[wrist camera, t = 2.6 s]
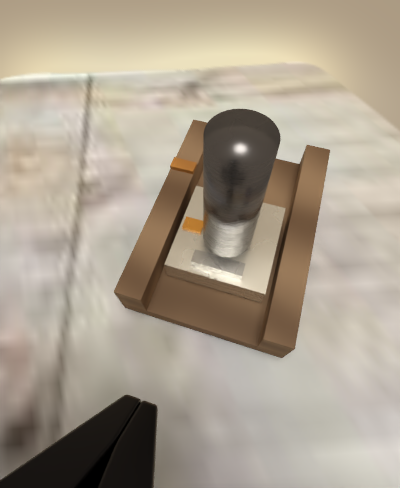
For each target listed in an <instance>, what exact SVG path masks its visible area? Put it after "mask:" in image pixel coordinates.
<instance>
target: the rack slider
mask: <svg viewBox="0 0 400 488" xmlns="http://www.w3.org/2000/svg"><path fill="white" fill-rule="evenodd" d="M279 144H280V133H279V130H278V128H277V126H276V125H275V123H274V122H273V121H272V120H271V119H269V118H268V117H267V116H265V115H263V114H261V113H259V112H256V111H253V110H248V109H232V110H227V111H224V112H221V113H219V114H217V115H216V116H214V117H213V118H212V119H211V120H210V121H209V122H208V123H207V125H206V126H205V129H204V133H203V187H200V186H196V187H195V190H194V192H193V195H192V197H191V200H190V202H189V205H188V207H187V210H186V212H185V215H184V217H183V220H182V222H181V225H180V227H179V229H178V232H177V234H176V237H175V239H174V242H173V244H172V247H171V249H170V252H169V254H168V257H167V259H166V262H165V264H164V265H165V269H166V273H167V275H169V276H173V277H176V278H179V279H183V280H186V281H189V282H193V283H196V284H199V285H203V286H206V287H209V288H213V289H216V290H219V291H223V292H226V293H229V294H233V295H236V296H239V297H243V298H246V299H249V300H253V301H256V302H259V303H261V302H262V300H263V298H264V296H265V294H266V289H267V285H268V281H269V277H270V273H271V268H272V264H273V260H274V256H275V251H276V247H277V243H278V239H279V234H280V230H281V226H282V222H283V218H284V213H285V209H286V208H283V207H279V206H275V205H271V204H267V203H263V200H264V197H265V193H266V190H267V186H268V183H269V179H270V176H271V172H272V169H273V165H274V162H275V158H276V155H277V151H278V148H279Z"/></svg>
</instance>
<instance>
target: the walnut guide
mask: <svg viewBox="0 0 400 488" xmlns="http://www.w3.org/2000/svg"><path fill="white" fill-rule="evenodd" d="M206 125H207V123H206V122H202V121H197V120H193V122H192V124H191V126H190V128H189V130H188V133H187V135H186V137H185V139H184V141H183V143H182V146H181V148H180V150H179V152H178V154H177V156H176V157H174V159H173V161H172V163H171V165H170V168H171V169H170V171H169V174H168V176H167V178H166V180H165V182H164V184H163V187H162V189H161V191H160V193H159V195H158V197H157V199H156V202H155V204H154V206H153V208H152V210H151V212H150V215H149V217H148V219H147V221H146V223H145V225H144V228H143V230H142V232H141V234H140V236H139V238H138V240H137V243H136V245H135V247H134V249H133V251H132V253H131V256H130V258H129V260H128V262H127V264H126V266H125V269H124V271H123V273H122V275H121V277H120V279H119V281H118V284H117V286H116V288H115V290H114V293H115V294H116V296H117V297H118V298H119V300H120V301H121V302H122V304H123V305H124V306H125V308H128V309H131V310H134V311H138V312H141V313H144V314H147V315H150V316H153V317H156V318H159V319H162V320H165V321H169V322H172V323H175V324H178V325H181V326H184V327H187V328H190V329H193V330H197V331H200V332H203V333H206V334H209V335H212V336H215V337H218V338H221V339H224V340H228V341H231V342H234V343H237V344H240V345H243V346H246V347H249V348H252V349H256V350H259V351H262V352H265V353H268V354H271V355H274V356H277V357H280V358H282V357H284V356H285V355H287V354H288V353H290V352H291V351H292V350H294V349H295V344H296V338H297V333H298V327H299V322H300V316H301V310H302V305H303V299H304V294H305V288H306V282H307V277H308V271H309V266H310V260H311V254H312V249H313V243H314V237H315V232H316V226H317V221H318V215H319V209H320V204H321V198H322V193H323V187H324V181H325V176H326V170H327V165H328V159H329V153H330V150H328V149H324V148H319V147H315V146H310V145H307V146H306V149H305V151H304V154H303V157H302V159H301V162H300V164H296V163H292V162H288V161H283V160H279V159H275V162H274V165H273V169H272V172H271V176H270V179H269V183H268V186H267V190H266V193H265V197H264V200H263V203H267V204H271V205H275V206H279V207H283V208H286V209H285V213H284V218H283V222H282V226H281V230H280V234H279V239H278V243H277V247H276V251H275V256H274V260H273V264H272V268H271V273H270V277H269V281H268V285H267V289H266V294H265V296H264V298H263V300H262V302H261V303H259V302H256V301H253V300H249V299H246V298H243V297H239V296H236V295H233V294H229V293H226V292H223V291H219V290H216V289H213V288H209V287H206V286H203V285H199V284H196V283H193V282H189V281H186V280H183V279H179V278H176V277H173V276H169V275H167V273H166V269H165V265H164V264H165V262H166V259H167V257H168V254H169V252H170V249H171V247H172V244H173V242H174V239H175V237H176V234H177V232H178V229H179V227H180V225H181V222H182V220H183V217H184V215H185V212H186V210H187V207H188V205H189V202H190V200H191V197H192V195H193V192H194V190H195V187H196V186H200V187H203V133H204V129H205V126H206Z"/></svg>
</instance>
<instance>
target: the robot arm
mask: <svg viewBox="0 0 400 488" xmlns="http://www.w3.org/2000/svg"><path fill="white" fill-rule="evenodd" d="M157 411H158V408H157V405H155V404H152V403H149V402H147V401H142V402H141V400H140V399H138V398H136V397H133V396H130V395H124V396H123V397H121V398H120V399H118V400H117V401H115V402H114V403H112V404H111V405H109V406H108V407H107V408H105V409H104V410H102V411H101V412H99V413H98V414H96V415H95V416H93V417H92V418H90V419H89V420H88V421H86V422H85V423H83V424H82V425H80V426H79V427H77V428H76V429H74V430H73V431H71V432H70V433H69V434H67V435H66V436H64V437H63V438H61V439H60V440H58V441H57V442H55V443H54V444H52V445H51V446H49V447H48V448H47V449H45V450H44V451H42V452H41V453H39V454H38V455H36V456H35V457H33V458H32V459H30V460H29V461H28V462H26V463H25V464H23V465H22V466H20V467H19V468H17V469H16V470H14V471H13V472H11V473H10V474H9V475H7V476H6V477H4V478H3V479H1V480H0V488H154V470H155V450H156V431H157Z"/></svg>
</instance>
